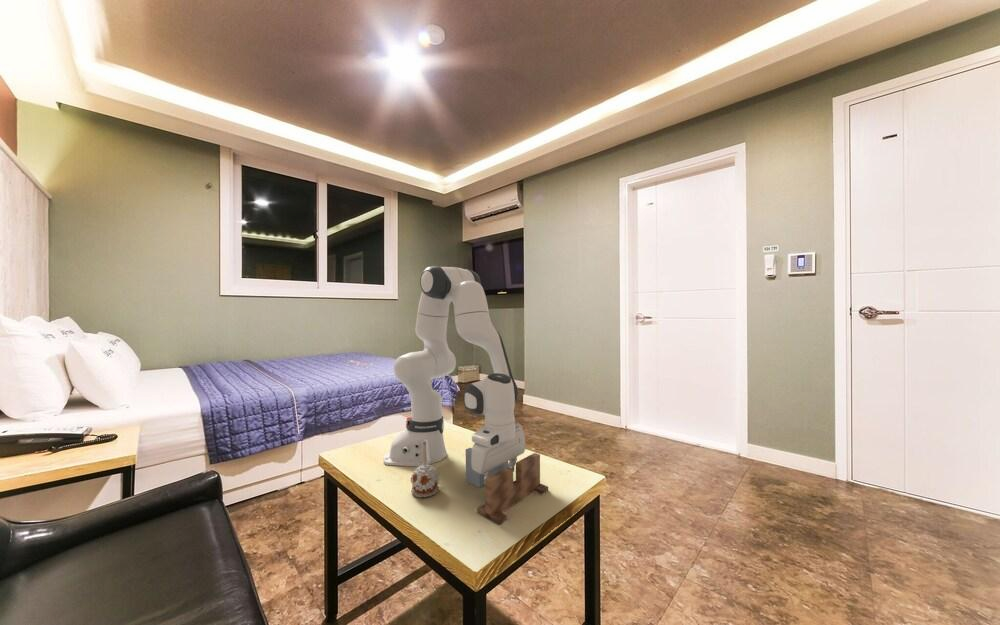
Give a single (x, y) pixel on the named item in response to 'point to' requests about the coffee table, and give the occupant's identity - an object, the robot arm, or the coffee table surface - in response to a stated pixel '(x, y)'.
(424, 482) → the decorative ornament
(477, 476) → the grey plate
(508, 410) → the robot arm
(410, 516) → the coffee table surface
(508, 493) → the walnut crosspiece
